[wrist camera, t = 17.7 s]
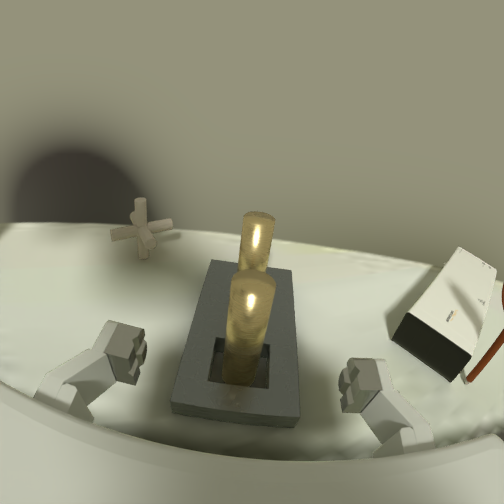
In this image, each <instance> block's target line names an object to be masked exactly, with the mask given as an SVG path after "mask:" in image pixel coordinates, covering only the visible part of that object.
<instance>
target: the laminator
mask: <svg viewBox="0 0 504 504" xmlns="http://www.w3.org/2000/svg"><path fill="white" fill-rule="evenodd" d="M443 265H444V267H443V268H442V270H441V271H440V272H439V274H438V275H437V276H436V278H435V279H434V280H433V282H432V283H431V284H430V285H429V287H428V288H427V289H426V290H425V292H424V293H423V294H422V295H421V296H420V298H419V299H418V300H417V301H416V302H415V304H414V305H413V306H412V307H411V308H410V310H409V311H408V312H407V313H406V314H405V316H404V318H403V320H402V322H401V323H400V325H399V327H398V329H397V330H396V332H395V334H394V336H393V337H392V341H394V342H396V343H397V344H399V345H400V346H402V347H403V348H404V349H406V350H407V351H409V352H410V353H411V354H413V355H414V356H416V357H417V358H418V359H420V360H421V361H423V362H424V363H425V364H427V365H428V366H430V367H431V368H432V369H434V370H435V371H437V372H438V373H439V374H441V375H442V376H443V377H445V378H446V379H447V380H449V382H452V381H453V380H454V379H455V378H456V376H457V375H458V374H459V373H460V372H461V370H462V369H463V368H464V367H465V366H466V364H467V363H468V362H469V361H470V359H471V357H472V355H473V352H474V349H475V346H476V344H477V341H478V338H479V335H480V332H481V329H482V326H483V323H484V319H485V316H486V313H487V309H488V306H489V302H490V298H491V294H492V290H493V286H494V282H495V277H496V273H497V270H496V269H495V268H493V267H492V266H490V265H489V264H487V263H486V262H484V261H483V260H481V259H479V258H478V257H476V256H475V255H473V254H471V253H470V252H468V251H466V250H465V249H463V248H461V247H460V246H459V247H458V248H457V249H456V251H455V252H454V254H453V255H452V256H451V258H450V259H449V260H448V262H447V263H444V264H443Z"/></svg>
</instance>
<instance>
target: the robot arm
mask: <svg viewBox="0 0 504 504" xmlns="http://www.w3.org/2000/svg"><path fill="white" fill-rule="evenodd" d="M144 337H145V331H144V329H142V328H138V327H134V326H130V325H126V324H123V323H119V322H115V321H111V320H108V321H107V322H106V323H105V325H104V327H103V329H102V330H101V332H100V334H99V336H98V338H97V340H96V342H95V343H94V345H93V347H92V349H87V350H85V351H83V352H82V353H80V354H78V355H77V356H75V357H73V358H72V359H70V360H68V361H66V362H65V363H63V364H61V365H60V366H58V367H56V368H55V369H53V370H51V371H50V372H48V373H46V374H45V376H44V378H43V380H42V382H41V384H40V385H39V387H38V389H37V391H36V393H35V395H34V397H33V398H32V397H30V396H28V395H26V394H24V393H22V392H20V391H18V390H16V389H15V388H13V387H11V386H9V385H7V384H6V383H4V382H2V381H0V504H504V442H503V441H502V440H501V439H500V438H499V437H498V436H496V435H495V434H488V435H485V436H482V437H478V438H475V439H471V440H468V441H464V442H461V443H457V444H453V445H449V446H444V447H440V448H436V446H435V442H434V438H433V434H432V430H431V427H430V424H429V423H428V422H427V421H426V420H425V418H424V417H423V416H422V415H421V414H420V413H419V412H418V411H417V410H416V409H415V408H414V407H413V406H412V405H411V404H410V403H409V402H408V401H407V400H406V399H405V398H404V397H403V396H402V395H401V394H400V393H399V392H398V391H397V390H394V388H393V384H392V381H391V377H390V374H389V370H388V367H387V363H386V361H385V359H372V358H350V359H349V360H348V362H347V367H346V368H345V369H343V370H342V372H341V374H340V377H339V384H338V386H339V391H340V392H341V393H342V394H343V396H342V398H341V399H340V401H341V408H342V413H361V414H360V415H361V416H362V417H363V419H364V420H365V422H366V423H367V424H368V426H369V427H370V429H371V430H372V431H373V433H374V434H375V436H376V437H377V438H378V440H379V441H380V443H381V444H382V445H381V446H380V447H379V448H377V449H376V450H375V451H374V452H373V453H372V455H373V458H370V459H358V460H342V461H279V460H263V459H251V458H241V457H233V456H225V455H218V454H211V453H205V452H199V451H193V450H188V449H183V448H178V447H173V446H169V445H165V444H160V443H156V442H152V441H148V440H144V439H141V438H137V437H134V436H130V435H127V434H123V433H120V432H117V431H114V430H111V429H108V428H105V427H102V426H99V425H96V424H93V420H94V417H93V415H92V413H91V412H90V410H89V409H88V407H87V406H88V405H89V404H90V403H91V402H93V401H94V400H95V399H96V398H97V397H99V396H100V395H101V394H102V393H104V392H105V391H106V390H107V389H108V388H110V387H111V386H112V385H113V384H115V383H116V381H119V382H123V383H127V384H131V385H135V386H136V383H137V380H138V378H139V375H140V369H139V367H140V366H141V365H143V364H144V361H145V358H146V353H147V343H146V341H145V340H144Z"/></svg>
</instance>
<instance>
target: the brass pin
mask: <svg viewBox="0 0 504 504" xmlns="http://www.w3.org/2000/svg"><path fill="white" fill-rule="evenodd" d="M275 289H276V282H275V280H274V279H273V278H272V277H271V276H270V275H268V274H267V273H265V272H262V271H259V270H252V269H248V270H242V271H239V272H237V273H235V274H234V275H233V277H232V279H231V288H230V297H229V307H228V317H227V327H226V337H225V347H224V358H223V368H222V378H223V380H224V382H225V383H226V384H229V385H237V386H245V387H249V386H250V385H251V384H252V383H253V382H254V380H255V376H256V371H257V367H258V363H259V359H260V355H261V351H262V346H263V342H264V338H265V334H266V329H267V325H268V320H269V316H270V312H271V307H272V303H273V298H274V294H275Z"/></svg>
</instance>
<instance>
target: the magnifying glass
mask: <svg viewBox="0 0 504 504" xmlns="http://www.w3.org/2000/svg"><path fill="white" fill-rule="evenodd" d="M502 305H503V310H504V284H503V289H502ZM503 343H504V329H503V330H502V332H501V333H500V335H499V336H498V338H497V339H496V340H495V342H494V343H493V344H492V346H491V347H490V348H489V350H488V351H487V352H486V354H485V355H484V356H483V357H482V359H481V360H480V361H479V362H478V364H477V365H476V366H475V367H474V369H473V370H472V371H471V372H470V373H469V375H468V376H467V377H466V380H465V384H469V382H472V381H473V380H474V379H475V378H476V377H477V375H478V374H479V373H480V372H481V371H482V370H483V368H484V367H485V366H486V365H487V364H488V362H489V361H490V360H491V359H492V357H493V356H494V355H495V353H496V352H497V351H498V350H499V348H500V347H501V346H502V344H503Z"/></svg>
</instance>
